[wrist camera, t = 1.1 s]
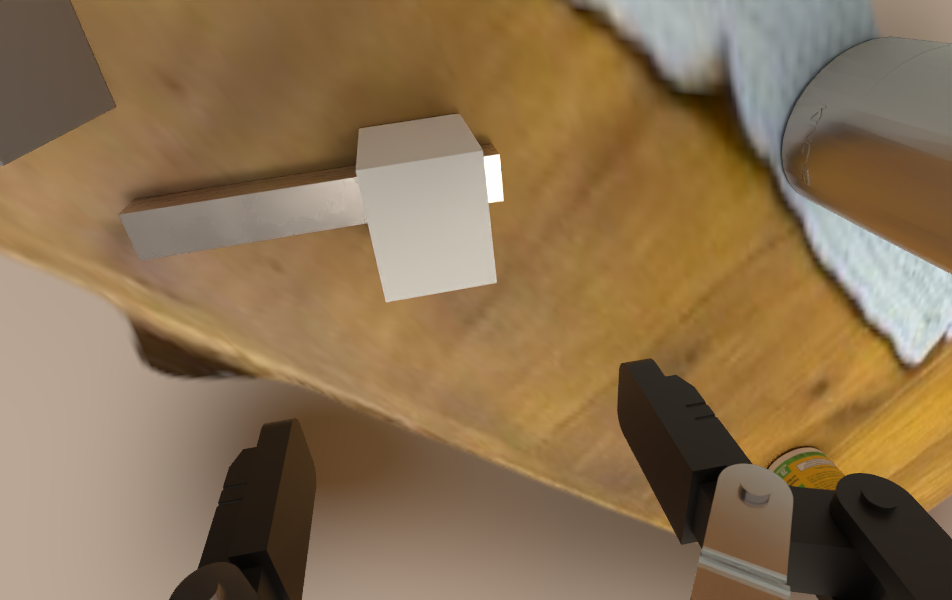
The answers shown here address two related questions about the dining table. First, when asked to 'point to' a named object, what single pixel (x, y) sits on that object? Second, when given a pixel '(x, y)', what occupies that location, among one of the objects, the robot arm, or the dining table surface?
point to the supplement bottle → (807, 469)
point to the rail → (258, 210)
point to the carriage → (426, 206)
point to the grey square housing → (45, 76)
